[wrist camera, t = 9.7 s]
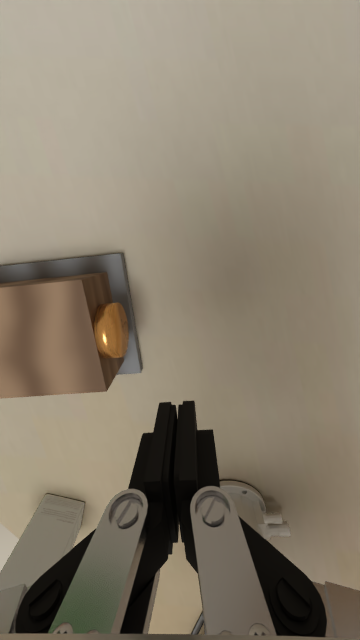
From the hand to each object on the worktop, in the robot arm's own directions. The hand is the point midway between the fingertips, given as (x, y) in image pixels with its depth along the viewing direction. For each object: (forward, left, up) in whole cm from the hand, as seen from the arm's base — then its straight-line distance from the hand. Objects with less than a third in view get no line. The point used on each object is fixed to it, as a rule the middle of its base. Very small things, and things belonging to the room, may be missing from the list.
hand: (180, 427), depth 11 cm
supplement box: (+26, +36, -21) cm, 49 cm away
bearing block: (+18, 0, -20) cm, 27 cm away
